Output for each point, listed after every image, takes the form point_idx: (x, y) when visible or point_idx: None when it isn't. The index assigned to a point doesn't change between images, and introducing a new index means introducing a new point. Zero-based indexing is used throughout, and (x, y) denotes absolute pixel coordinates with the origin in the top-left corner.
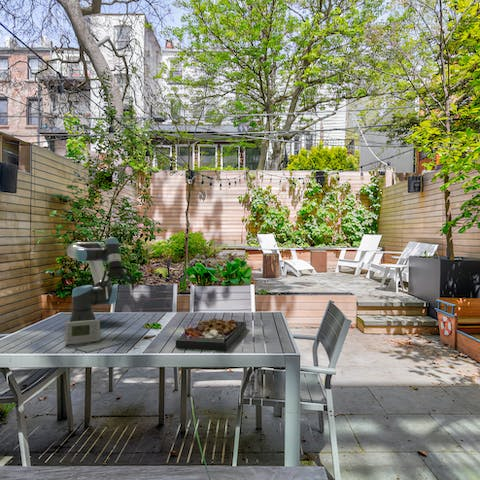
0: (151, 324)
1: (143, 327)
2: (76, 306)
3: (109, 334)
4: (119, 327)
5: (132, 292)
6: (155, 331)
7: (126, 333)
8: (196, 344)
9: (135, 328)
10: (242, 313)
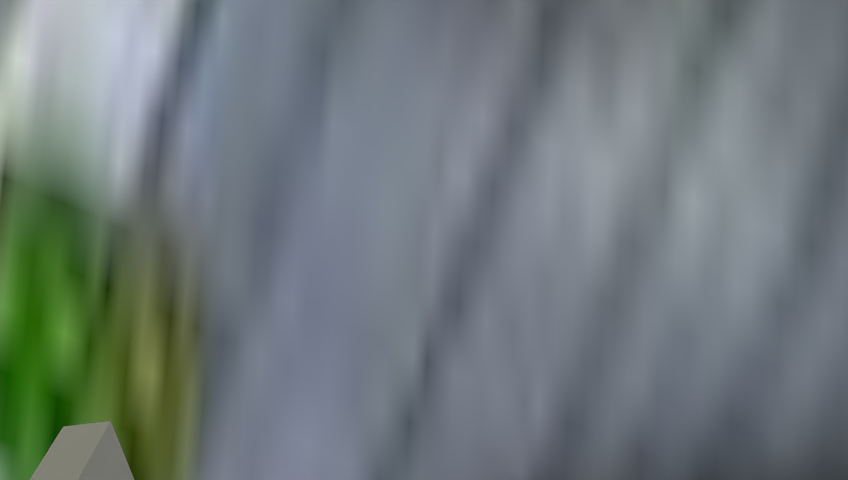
0: None
1: (212, 322)
2: None
3: (702, 59)
4: (539, 467)
5: (35, 476)
6: (85, 12)
7: (463, 34)
8: None
9: (322, 303)
10: None
